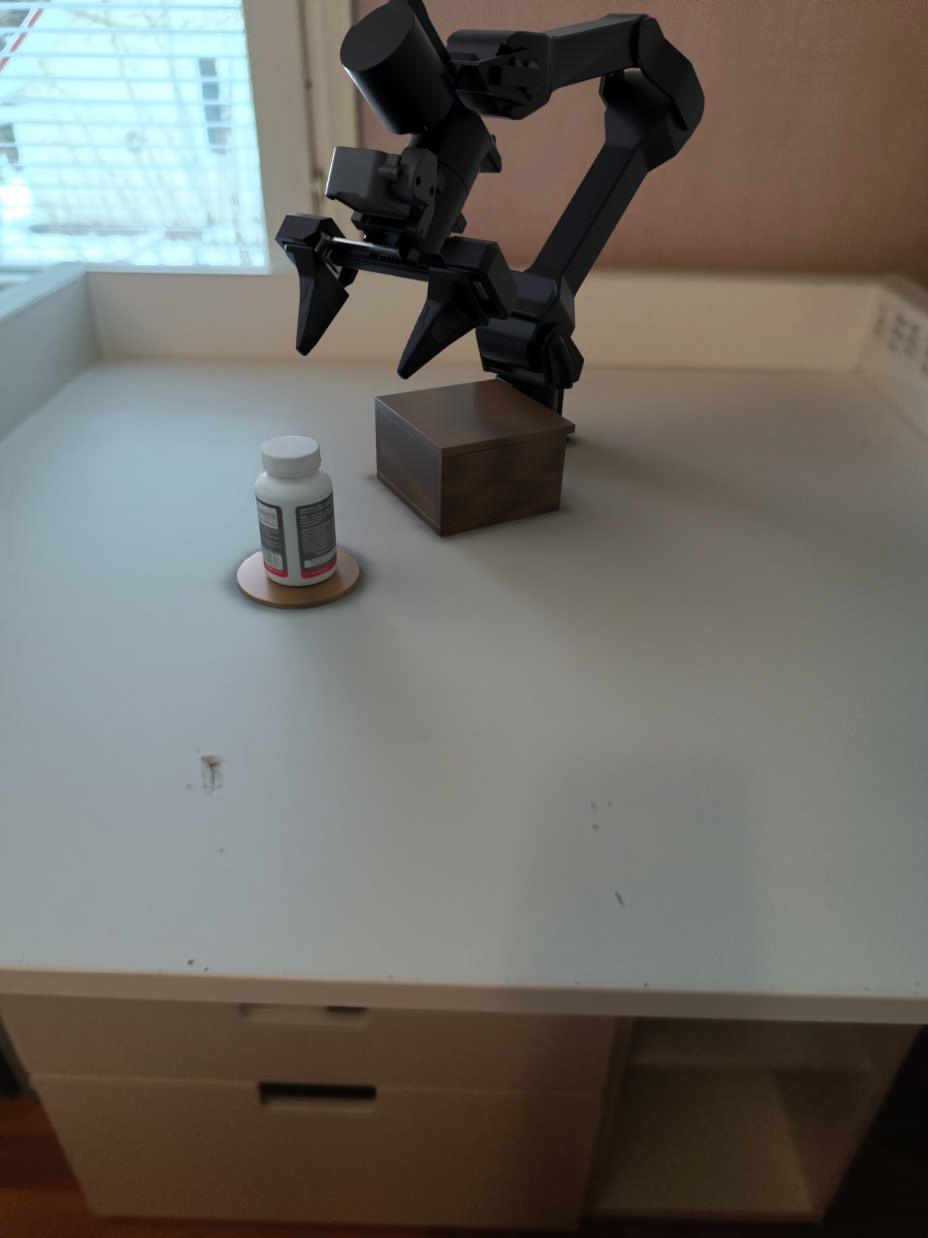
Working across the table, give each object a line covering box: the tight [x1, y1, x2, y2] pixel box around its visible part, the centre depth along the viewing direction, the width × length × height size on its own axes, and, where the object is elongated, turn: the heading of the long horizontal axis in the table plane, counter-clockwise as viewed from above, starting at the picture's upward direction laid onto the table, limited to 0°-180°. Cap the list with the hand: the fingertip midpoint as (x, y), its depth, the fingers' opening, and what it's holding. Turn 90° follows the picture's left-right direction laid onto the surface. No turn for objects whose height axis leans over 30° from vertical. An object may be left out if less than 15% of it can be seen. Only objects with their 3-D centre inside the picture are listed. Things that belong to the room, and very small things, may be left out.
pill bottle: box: [254, 435, 337, 586], centre depth 62 cm, size 5×5×10 cm
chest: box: [374, 405, 568, 538], centre depth 76 cm, size 12×13×7 cm
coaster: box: [236, 546, 361, 609], centre depth 65 cm, size 9×9×1 cm
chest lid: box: [374, 378, 576, 458], centre depth 74 cm, size 12×13×1 cm
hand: (349, 364), depth 64 cm, fingers open, 9 cm apart
